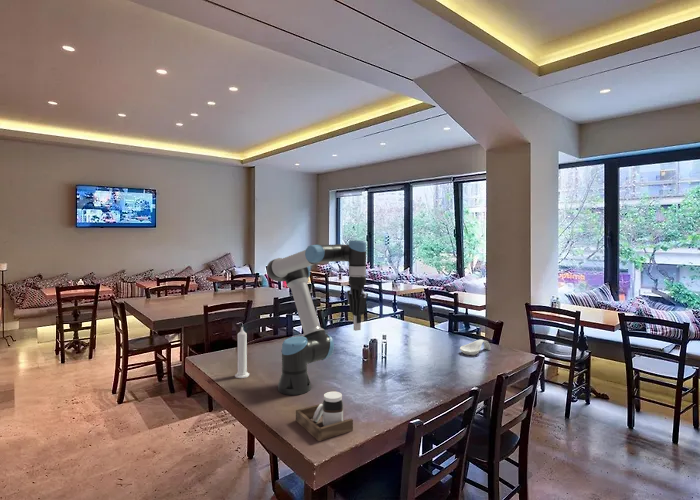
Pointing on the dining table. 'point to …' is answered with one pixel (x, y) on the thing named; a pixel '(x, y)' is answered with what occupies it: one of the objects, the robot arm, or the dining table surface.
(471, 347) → the spoon rest
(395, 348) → the dining table surface
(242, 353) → the candle
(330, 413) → the spread jar
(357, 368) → the dining table surface
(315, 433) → the walnut bay
